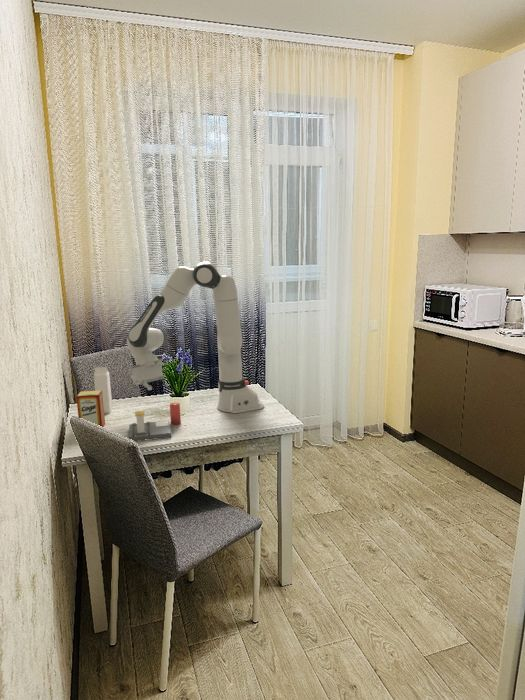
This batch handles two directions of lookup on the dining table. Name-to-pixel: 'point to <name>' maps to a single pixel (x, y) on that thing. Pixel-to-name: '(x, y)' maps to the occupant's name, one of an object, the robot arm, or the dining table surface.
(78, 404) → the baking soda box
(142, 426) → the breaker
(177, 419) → the cap
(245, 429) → the dining table surface
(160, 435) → the panel
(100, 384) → the milk
